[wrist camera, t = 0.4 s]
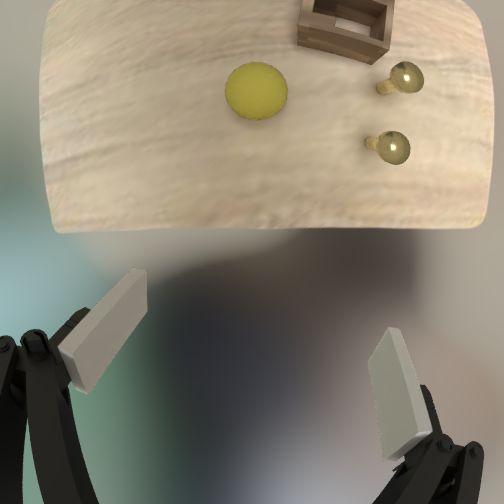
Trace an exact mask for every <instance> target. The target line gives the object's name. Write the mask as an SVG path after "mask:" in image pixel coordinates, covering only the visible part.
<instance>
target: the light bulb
mask: <svg viewBox="0 0 504 504" xmlns="http://www.w3.org/2000/svg"><path fill="white" fill-rule="evenodd" d="M287 92H288V88H287V84H286V81H285V79H284V77H283V76H282V74H281V73H280V72H279V71H278V70H277V69H275V68H274V67H273V66H271V65H268V64H265V63H255V62H252V63H248V64H244V65H242V66H240V67H239V68H237V69H236V70H235V71H234V72H233V73H232V74H231V75H230V76H229V78H228V81H227V83H226V90H225V94H226V98H227V102H228V104H229V105H230V107H231V108H232V110H234V111H235V112H236V113H237V114H239V115H240V116H242V117H245V118H248V119H254V120H261V119H265V118H269V117H271V116H273V115H274V114H276V113H277V112H278V111H279V110H280V109H281V108H282V107H283V106H284V103H285V101H286V99H287Z"/></svg>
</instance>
